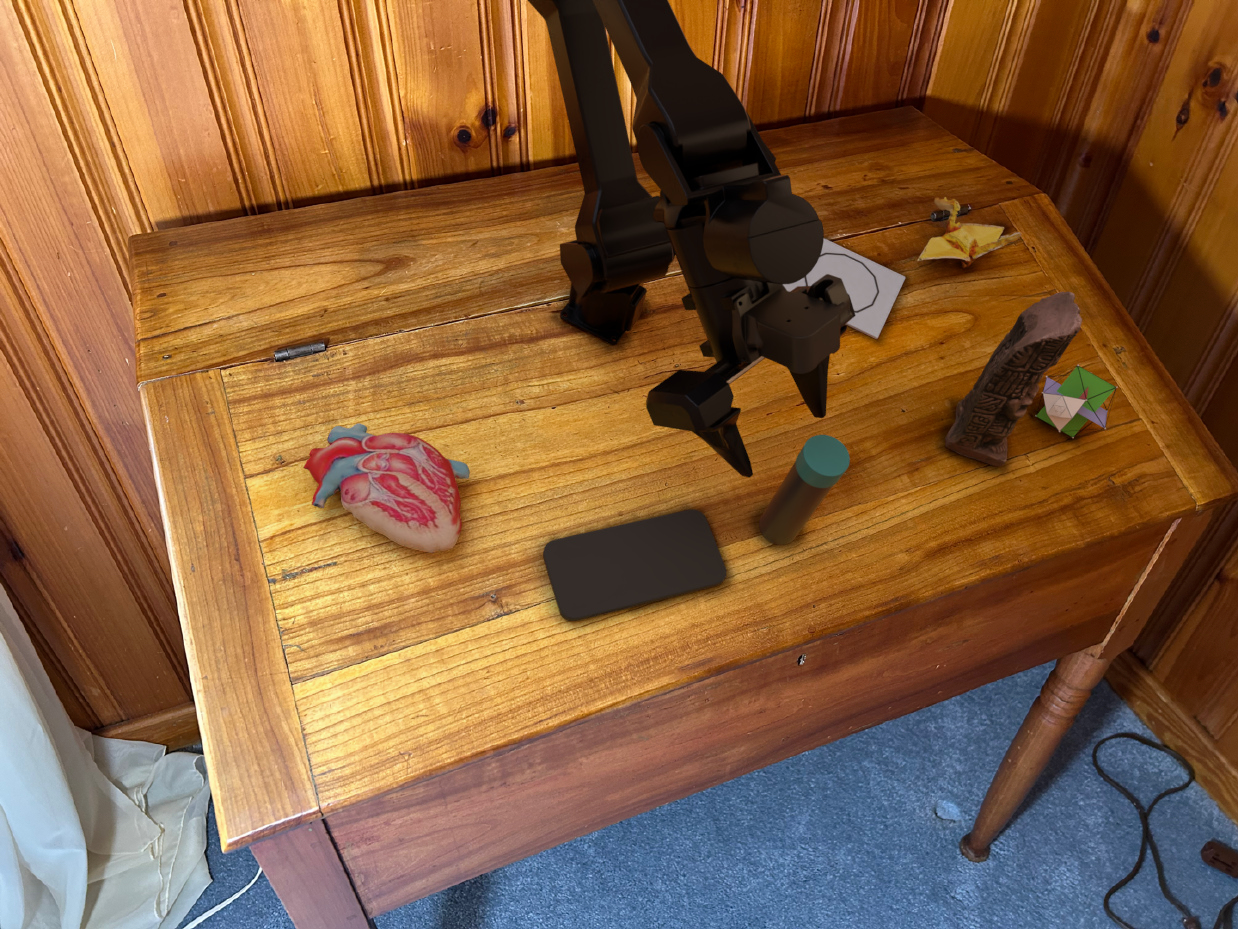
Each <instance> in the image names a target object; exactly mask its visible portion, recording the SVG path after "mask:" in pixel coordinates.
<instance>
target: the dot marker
mask: <svg viewBox="0 0 1238 929" xmlns="http://www.w3.org/2000/svg"><path fill="white" fill-rule="evenodd" d="M850 462H851V458H850V453H849V451H848V449H847V447H846V446H845V444H844V443H842V441H840V440H839V439H838V438H836V437H834V436H831V435H827V434H817V435H813V436H811V437H809V438H808V439H807V440H806V441H805V443H804V445H803V446H802V448H801V449H800V451H799V452H798V454H797V456H796V458H795V461H794V463H793V464H792V466H791V468H790V470H789V471H788V473H787V474H786V476H785V478H784V479H783V481H782V482H781V484H780V485H779V487H778V488H777V490H776V492H775V493H774V495H773V497H772V498H771V500H770V502H768V505H767V506H766V508H765V510H764V512H762V514H761V516H760V518H759V521H758V527H759V532H760V533H761V535H762V536H763V537H764V538H765V540H766V541H768V542H770V543H772V544H774V545H776V546H777V545H778V546H784V545H785V546H786V545H788V544H790V543H792V542H794V541H795V540H796V538H797V537H798V535H799V534H800V532H801V531H802V529H803V528H804V527H805V525H806V524H807V523H808V521H810V519H811V517H812V516H813V515H814V513H815V512H816V510H817V509H818V508H819V506H820V505H821V503H822V502H823V501H824V499H825V498H826V496H827V495H828V494H829V493H830V491H831V490H832V489H833V487H834V486H835V485H836V484H837V483H838V482H839V481H840V479H841V478H842V477H843V476H844V474H845V473H846V471H847V470H848V469H849V466H850Z"/></svg>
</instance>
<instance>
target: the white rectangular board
mask: <svg viewBox="0 0 1238 929" xmlns="http://www.w3.org/2000/svg"><path fill="white" fill-rule="evenodd" d="M826 274H829V275H832V276H835V277H838V278H841V279H842V281H843V284H844V286H845V289H846V291H847V293H848V294H849V295H850V299H851V302H852V305H853V309H854V312H855V315H856V316H855V317H853V318H852V319H851V320H850V321H849V322H847V323H846V324H845V325H847V327H850V328H852V329H854V330H856V331H858V332H860V333H862V334H865V335H867V336H868V337H871V338H873V339H874V340H878V338H879V337H880V334H881V332H882V330H883V328H884V326H885V324H886V321H887V319H888V317H889V315H890V312H891V310H892V308H893V306H894V304H895V302H896V300H897V297H898V295H899V293H900V291H901V288H902V286H903V284H904V282H905V280H906V276H905V275H902V274H900V273H898V272H896V271H894V270H891V269H890V268H887V267H885V266H884V265H881V264H879V263H877V262H875V261H873V260H871V259H869V258H867V257H865V256H862V255H860V254H858V253H856V252H854V251H852V250H850V249H847V248H845V247H843V246H841V245H839V244H837V243H835V242H833V241H831V240H828V239H827V238H824V242H823V247H822V252H821V254H820V257H819V259H818V262H817V263H816V265H815V266H814V268H813V269H812V271H811V272H809V273H808V274H807V275H806V276H805V277H804V278H802V279H801V280H799V281H797V282H795V283H792V284H783V286H784V287H785V289H786V290H787V291H789V292H790V291H792V290H793V289H795V288H796V287H797V286H811V285H812V284H813V283H815V282H816V281H818V280H819V279H820V278H822V277H823V276H825V275H826Z"/></svg>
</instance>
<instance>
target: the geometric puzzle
mask: <svg viewBox="0 0 1238 929" xmlns="http://www.w3.org/2000/svg"><path fill="white" fill-rule="evenodd" d="M1067 370H1068V368H1067V369H1063V370H1062V372H1063V371H1067ZM1058 373H1060V371H1058V372H1055V373H1054V375H1052V374H1050V375H1046V376H1045V382H1044V385H1043V389H1042V392H1041V396H1040V400H1039V404H1038V408H1037V411H1036V414H1035V417H1036V418H1038V419H1040V420H1041V421H1042V422H1044V423H1045V424H1046V425H1048V426H1050V427H1051V428H1053V429H1054V430H1056V431H1057V432H1058V433H1061V434H1064V435H1065V436H1067V437H1070V438H1072V439H1074V438H1075V437H1080V436H1081V434H1080V433H1081V432H1083V431H1085V430H1086V428H1088V427H1089V426H1090V425H1091V424H1093V423H1094V424H1096V425H1098V426H1100V427H1101V428H1100V431H1102V430H1107V424H1108V420H1109V416H1110V413H1111V409H1112V406H1113V404H1112V403H1113V401H1114V399H1115V395H1116V391H1117V389H1118V388H1119V387H1118V386H1115V385H1114V384H1112V383H1110V382H1109V381H1107V380H1105V379H1103V378H1102V377H1099V376H1098V375H1096V374H1094V373H1093V372H1091V371H1089V370H1087V369H1085V368H1083V367H1082V366H1080V364H1077V365H1074V366H1073V367H1072V368H1071V370H1070V371H1068V372H1067V373H1065V374H1061V375H1059V377H1060V378H1059V379H1058V380H1057V381H1055V380H1054V379H1052V378H1054V377H1056V374H1058ZM1069 373H1070V374H1069ZM1067 376H1068V377H1067ZM1064 377H1066V379H1065V380H1064V381H1063V382H1062V384H1060V383H1059V381H1061V380H1062V379H1063V378H1064ZM1111 395H1112V397H1111V400H1110V402H1109V404H1108V407H1107V406H1106V404H1105V401H1107V399H1108V398H1109V397H1110V396H1111ZM1042 399H1043V402H1044V406H1043V407H1042V408H1041V409H1040V411H1039V408H1040V405H1041V402H1042ZM1102 405H1103V406H1104V408H1105V409H1104V408H1103V407H1101V406H1102ZM1109 407H1110V408H1109ZM1088 421H1091V422H1090V423H1089V424H1088V425H1086V423H1087V422H1088ZM1084 425H1086V426H1085V427H1084ZM1090 430H1091V431H1090ZM1092 430H1095V428H1091V429H1090V428H1089V429H1088V431H1090V432H1086V435H1088V434H1090V433H1092ZM1098 431H1099V429H1096V430H1095V431H1093V433H1095V432H1098ZM1078 434H1079V435H1078ZM1083 435H1085V433H1083V434H1082V436H1083Z"/></svg>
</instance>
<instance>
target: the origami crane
mask: <svg viewBox="0 0 1238 929" xmlns="http://www.w3.org/2000/svg"><path fill="white" fill-rule="evenodd" d="M933 202H934V205H935V207H936V208H937V209H939V210H941V211H945V210H946V211H947V212H949V214H950V215H949V217H948V219H947V223H946V231H945V233H944V234H943V235H941V236H935V237H934V236H933V237H931V238H929V240H928V242H927V244H926V245H925V247H924V249H923V250H922V252H921V253H920V255H919V257H918V258H917V260H916V261H917V262H923V261H924V260H927V261H928V260H939V259H958V260H959V259H960V260H961V267H962V268H967V267H970V266H971V264H972V263H974V262H975V261H976V260H977V259H978V258H980V257H982V256H984V255H985V254H988V253H990V252H992V251H995V250H998V249H1000V248H1002V247H1004V246H1006V245H1008V244H1010V243H1014V242H1016V241H1017V240H1018V239H1019V238H1021V237H1022V232H1013V234H1011V235H1010V234H1006V235H1002V234H1003V232H1004V230H1005V227H1004V226H999V225H994V224H992V225H991V224H990V225H989V224H981V223H970V222H967V223H963V222H962V223H961V222H960V221H958V222H956V220H957V218H958V217H957V215H958V214H959V213H958V211H960V210H961V205H960V203H959V201H957V199H956V198H952V199H951V200H949V199H947V197H946V196H944V197H943V198H940V197H937V196H936V197H935V198H934V200H933ZM963 260H964V262H963Z"/></svg>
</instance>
